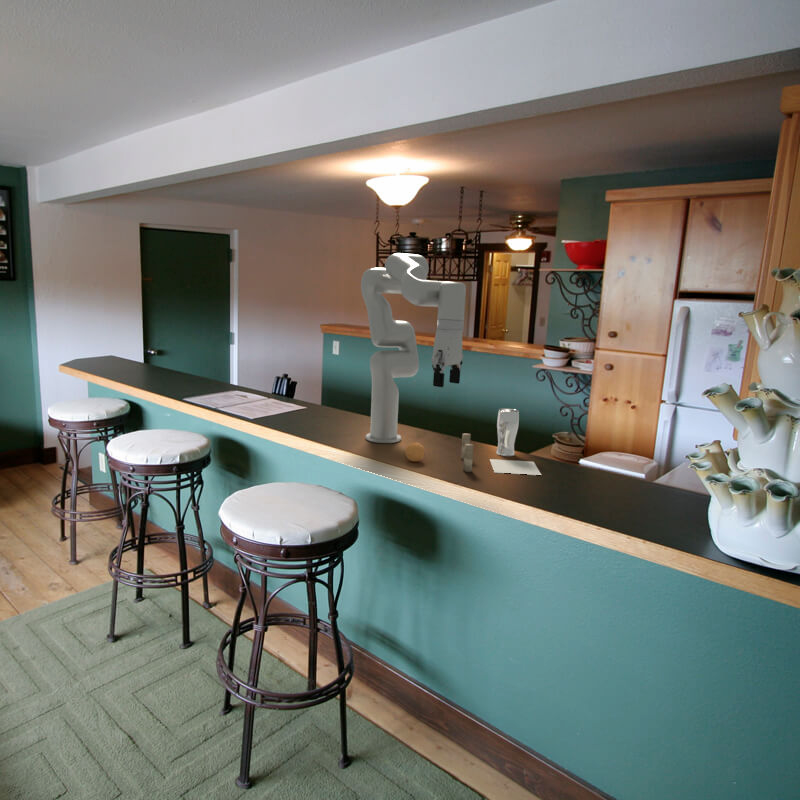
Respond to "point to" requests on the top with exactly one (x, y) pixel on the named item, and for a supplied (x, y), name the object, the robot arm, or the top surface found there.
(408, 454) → the ball
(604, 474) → the top surface
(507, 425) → the beer glass
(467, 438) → the back post
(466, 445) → the front post
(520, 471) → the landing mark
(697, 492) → the top surface
